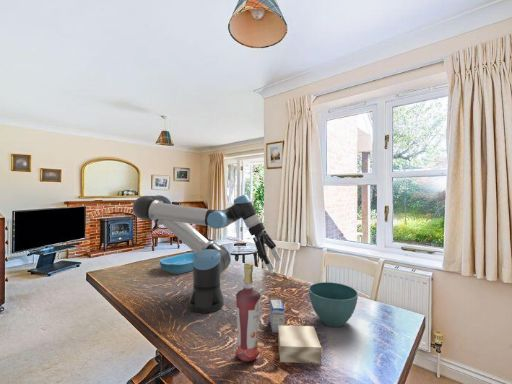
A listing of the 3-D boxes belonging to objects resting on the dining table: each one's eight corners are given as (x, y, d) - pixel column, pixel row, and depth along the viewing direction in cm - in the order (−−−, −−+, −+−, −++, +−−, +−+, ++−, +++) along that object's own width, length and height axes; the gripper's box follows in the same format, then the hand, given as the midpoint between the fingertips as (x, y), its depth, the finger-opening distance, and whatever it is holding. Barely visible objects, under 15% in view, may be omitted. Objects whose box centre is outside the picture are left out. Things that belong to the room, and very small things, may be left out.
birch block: (280, 363, 75) (280, 346, 75) (278, 340, 87) (278, 325, 87) (321, 364, 75) (321, 347, 75) (313, 341, 87) (313, 326, 87)
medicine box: (269, 321, 99) (269, 299, 99) (280, 321, 99) (280, 299, 99) (272, 333, 91) (272, 308, 91) (284, 332, 91) (284, 308, 91)
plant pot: (351, 340, 87) (352, 303, 87) (301, 325, 97) (301, 292, 97) (361, 318, 102) (361, 287, 103) (317, 307, 112) (317, 279, 112)
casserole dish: (193, 259, 192) (194, 250, 192) (217, 264, 181) (217, 254, 181) (151, 272, 160) (151, 260, 160) (176, 278, 149) (176, 266, 149)
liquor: (254, 368, 72) (255, 268, 73) (231, 361, 75) (232, 266, 75) (263, 353, 79) (263, 262, 79) (241, 347, 82) (242, 260, 82)
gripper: (252, 226, 110) (276, 271, 108) (267, 217, 134) (287, 254, 132) (238, 233, 112) (261, 277, 110) (256, 223, 136) (275, 259, 134)
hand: (275, 265), depth 121 cm, fingers open, 13 cm apart
